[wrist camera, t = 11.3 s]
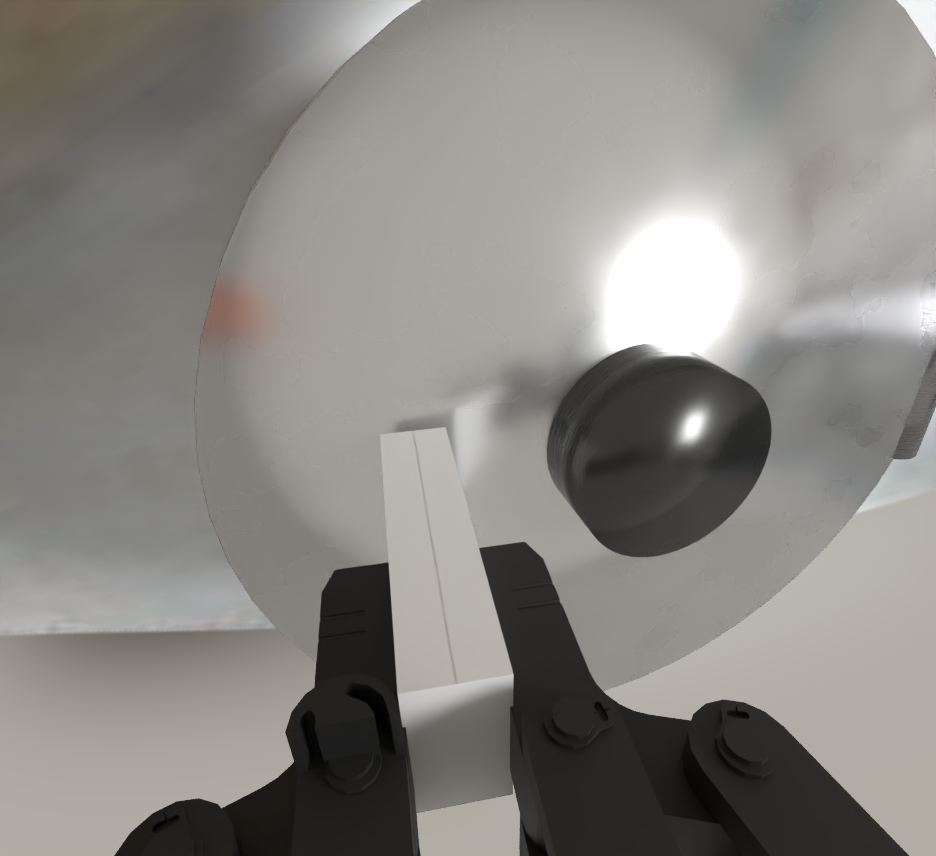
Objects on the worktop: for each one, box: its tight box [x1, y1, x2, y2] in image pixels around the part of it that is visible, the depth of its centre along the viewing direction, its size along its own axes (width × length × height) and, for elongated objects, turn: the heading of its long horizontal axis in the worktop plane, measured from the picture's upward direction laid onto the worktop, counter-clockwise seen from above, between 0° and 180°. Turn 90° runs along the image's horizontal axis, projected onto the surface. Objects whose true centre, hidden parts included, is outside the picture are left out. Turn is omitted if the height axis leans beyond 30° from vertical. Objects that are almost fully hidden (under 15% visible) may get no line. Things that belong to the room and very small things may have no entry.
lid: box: [194, 0, 936, 691], centre depth 15 cm, size 22×21×3 cm
